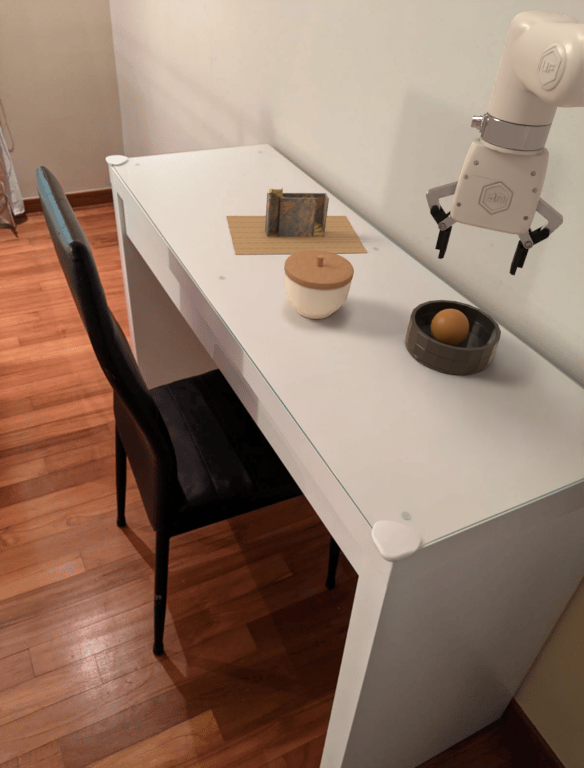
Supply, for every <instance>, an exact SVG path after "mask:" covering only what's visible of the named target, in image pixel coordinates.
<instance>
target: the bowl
mask: <svg viewBox="0 0 584 768" xmlns="http://www.w3.org/2000/svg"><path fill="white" fill-rule="evenodd" d="M445 309H456V310H458V311H460V312H462V313H463V314H464V315H465V316H466V318H467V319H468V322H469V332H468V335H467V337H466V338H465V339H464V341H462V342H461V343H460V344H458V345H455V346H450V345H447V344H443V343H441V342H438V341H436V340H435V339H434V338H433V336H432V334H431V322H432V320H433V318H434V317H435V315H436V314H437V313H439V312H440V311H442V310H445ZM501 335H502V330H501V328H500V326H499V324H498V322H497V321H496V320H495V319H494V318H493V317H492V316H491V315H489V314H488V313H486V312H485V311H484V310H483V309H481V308H478V307H476V306H473V305H471V304H468V303H464V302H461V301H457V300H447V299H436V300H435V299H434V300H428V301H425V302H422V303H419V304H418V305H417V306H415V307H414V308H413V309H412V311H411V314H410V317H409V320H408V325H407V328H406V333H405V339H404V344H405V348H406V350H407V352H408V353H409V354H410V355H411V357H412V358H414V360H415V361H417V362H418V363H419V364H421V365H423V366H425V367H427V368H429V369H430V370H433V371H435V372H439V373H442V374H447V375H454V376H470V375H475V374H478V373H481V372H483V371H485V370H486V369H487V368H488V367H489V366H490V365H491V363H492V361H493V360H494V357H495V354H496V351H497V349H498V346H499V344H500V340H501Z"/></svg>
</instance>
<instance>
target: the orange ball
mask: <svg viewBox="0 0 584 768" xmlns="http://www.w3.org/2000/svg"><path fill="white" fill-rule="evenodd" d="M468 332H469V322H468V319H467V318H466V316H465V315H464V314H463V313H462V312H460V311H458V310H456V309H445V310H442V311H440V312H439V313H437V314H436V315H435V317H434V318H433V320H432V322H431V334H432V336H433V338H434V339H435V340H436V341H438V342H441V343H443V344H447V345H450V346H455V345H458V344H460V343H461V342H462V341H464V339H465V338H466V337H467V335H468Z"/></svg>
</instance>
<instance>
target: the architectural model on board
mask: <svg viewBox="0 0 584 768" xmlns="http://www.w3.org/2000/svg"><path fill="white" fill-rule="evenodd" d="M283 190H284V188H283V187H281V188H269V189H268V192H267V193H266V206H265V207H266V208H265V215H226V216H225V218H226V221H227V225H228V229H229V233H230V238H231V241H232V246H233V250H234V254H235V255H238V256H240V255H247V256H248V255H292V254H294V253H297V252H300V251H305V250H321V251H328V252H331V253H335V254H368V251H367V249H366V248H365V245H363V243H362V241H361V239H360V237H359V236H358V234H357V232H356V230H355V229H354V227H353V225H352V224H351V222H350V220H349V219H348V217H347V215H328V210H329V203H330V198H329V196H328V194H327V193H326V192H284V191H283Z"/></svg>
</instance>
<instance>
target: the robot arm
mask: <svg viewBox="0 0 584 768" xmlns="http://www.w3.org/2000/svg"><path fill="white" fill-rule="evenodd" d="M558 108H566V109H567V108H568V109H569V108H584V22H579V20H578V19H577V18H575V17H573V16H571V15H568V14H564V13H560V12H559V13H558V12H552V11H544V10H525V11H521V12H519V13H517V14H516V15H515V16H514V17H513V18H512V20H511V22H510V24H509V25H508V30H507V33H506V36H505V41H504V45H503V48H502V53H501V56H500V60H499V64H498V69H497V71H496V76H495V80H494V83H493V88H492V90H491V95H490V98H489V103H488V107H487V110H486V113H484V114H483V115H473V116H472V119H471V124H470V128H473V129H476V131H477V130H478V133H480V135H478V136H476V137H475V138H474V139H473V140H472V143H471V144H470V146H469V148H468V151H467V153H466V156H465V158H464V161H463V164H462V167H461V170H460V174H459V176H458V180H457V181H453V182H449V183H446V184H443V185H439V186H435V187H432V188H429V189H428V190H427V191H426V193H425V197H426V201H427V204H428V209H429V213H430V215H431V217H432V218H433V220H434V222H435V223H436V225H437V228H438V230H439V231H438V236H437V238H436V239H437V240H436V244H435V248H434V249H435V250H438V256H437V259H438V260H442V259H444V257H445V255H446V252H447V249H448V246H449V242H450V237H451V233H452V230H453V225H455V224H456V223H459V224H462V225H467V226H470V227H476V228H479V229H485V230H489V231H495V232H500V233H503V234H504V233H505V234H508V235H518V238H519V239H520V240H518V242H517V245H516V248H515V251H514V254H513V257H512V261H511V263H510V267H509V274H510V275H511V276H515V275H516V274H517V270H518V268H519V269H523V268H524V265H525V263H526V260H527V257H528V253H529V251H530V249H532V248H533V247H534V246H535V245H537V244H539V243H541V242H543V241H545V240H546V239H548V238H549V237H550V235H551V234H553V233H554V232H555V231H556V230H558V228H559V227H560V226H562V224H563V223H564V216H563V214H561V212H559V211H558V210H556V209H555V208H554V207H553V206H552V205H550V204H549V203H548V202H547V201H546V200H544V199H543V198H542V197H541V194H542V191H543V187H544V183H545V179H546V175H547V170H548V165H549V157H550V153H549V149H548V148H546V143H547V140H548V137H549V134H550V131H551V128H552V126H553V125H552V124H553V122H554V119H555V116H556V112H557V109H558ZM449 196H453V198H452V201H451V206H450V210H449V211H447V212H446V211H445V210H444V208H443V206H442V205H441V204H440V199H441V198H446V197H449ZM536 212H537V213H538V214H539V215H541V216H542V217H543V218H544V219H546V222H545V223H544V225H541V226H540V227H538V228H536V229H534V230H532V228H531V226H532V224H533V220H534V218H535V215H536Z"/></svg>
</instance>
